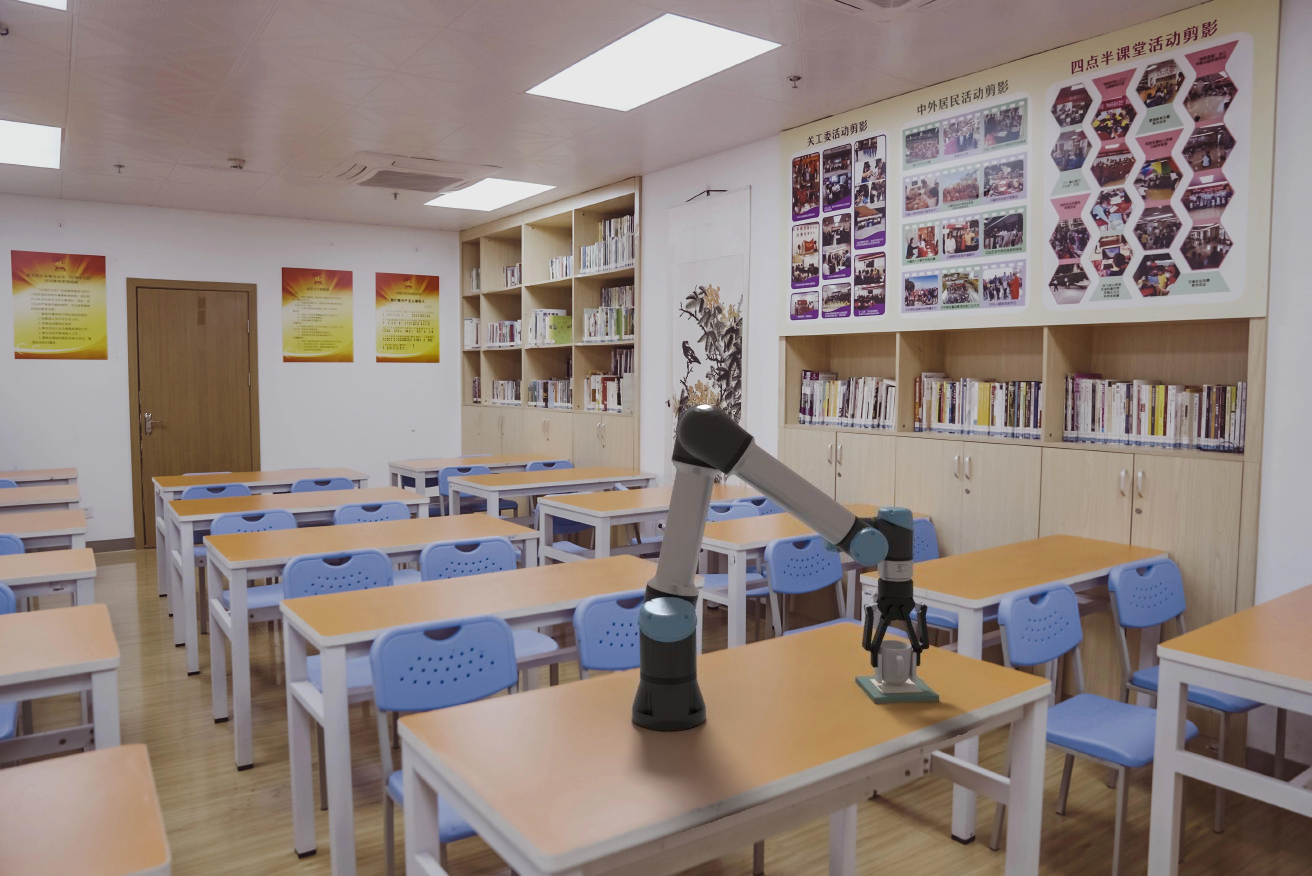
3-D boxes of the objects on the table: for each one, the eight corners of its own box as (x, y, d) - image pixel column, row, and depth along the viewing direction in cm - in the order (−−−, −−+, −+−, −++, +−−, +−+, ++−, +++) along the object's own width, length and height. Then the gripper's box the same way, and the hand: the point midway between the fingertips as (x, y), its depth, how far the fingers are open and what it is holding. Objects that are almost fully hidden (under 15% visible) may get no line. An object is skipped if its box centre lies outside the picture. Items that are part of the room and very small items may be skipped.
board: (874, 703, 182) (874, 697, 182) (855, 681, 196) (855, 675, 196) (939, 700, 183) (939, 694, 182) (915, 679, 197) (915, 673, 196)
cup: (920, 690, 184) (920, 653, 183) (883, 690, 184) (883, 653, 183) (906, 674, 194) (906, 639, 194) (871, 674, 194) (871, 639, 194)
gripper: (855, 582, 184) (855, 687, 185) (946, 580, 185) (946, 685, 186) (846, 575, 191) (846, 676, 192) (933, 573, 192) (933, 674, 193)
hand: (895, 680), depth 189 cm, fingers closed on cup, 7 cm apart
